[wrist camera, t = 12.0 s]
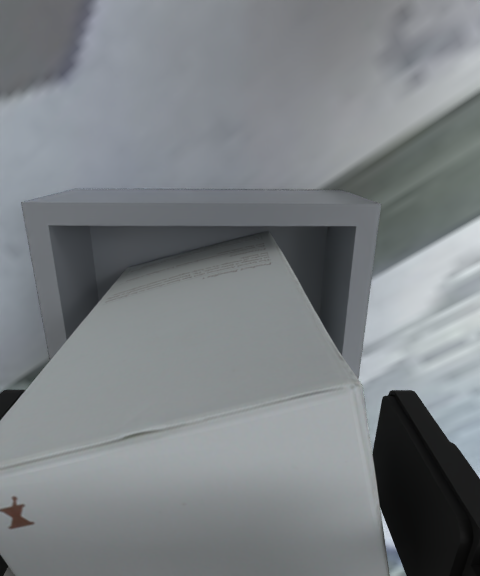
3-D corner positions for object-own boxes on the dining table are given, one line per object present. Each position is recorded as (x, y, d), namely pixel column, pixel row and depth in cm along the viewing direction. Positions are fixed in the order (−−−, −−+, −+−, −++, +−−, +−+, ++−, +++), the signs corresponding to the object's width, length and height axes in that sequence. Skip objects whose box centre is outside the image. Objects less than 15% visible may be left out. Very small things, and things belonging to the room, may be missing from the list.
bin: (75, 188, 18) (21, 202, 13) (342, 190, 18) (381, 203, 14) (105, 412, 22) (71, 482, 18) (321, 409, 23) (345, 478, 18)
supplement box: (170, 392, 21) (91, 716, 9) (123, 264, 18) (-72, 477, 6) (304, 361, 20) (410, 659, 8) (275, 226, 18) (366, 379, 6)
